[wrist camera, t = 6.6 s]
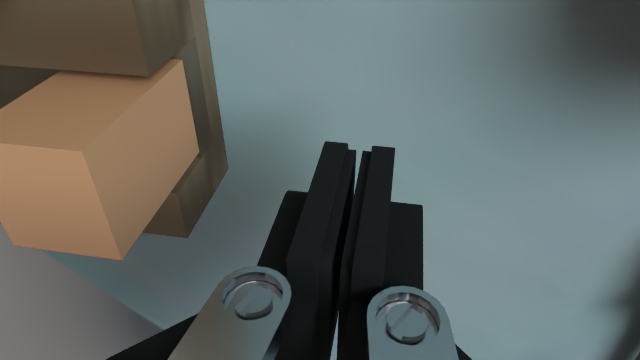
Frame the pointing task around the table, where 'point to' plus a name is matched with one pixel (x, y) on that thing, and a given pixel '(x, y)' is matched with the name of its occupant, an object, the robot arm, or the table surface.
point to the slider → (93, 158)
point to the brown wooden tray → (123, 72)
